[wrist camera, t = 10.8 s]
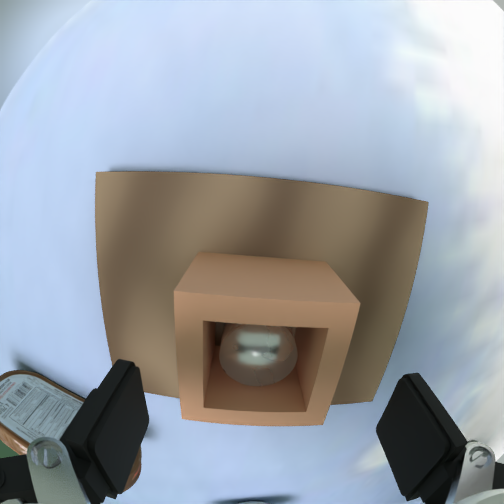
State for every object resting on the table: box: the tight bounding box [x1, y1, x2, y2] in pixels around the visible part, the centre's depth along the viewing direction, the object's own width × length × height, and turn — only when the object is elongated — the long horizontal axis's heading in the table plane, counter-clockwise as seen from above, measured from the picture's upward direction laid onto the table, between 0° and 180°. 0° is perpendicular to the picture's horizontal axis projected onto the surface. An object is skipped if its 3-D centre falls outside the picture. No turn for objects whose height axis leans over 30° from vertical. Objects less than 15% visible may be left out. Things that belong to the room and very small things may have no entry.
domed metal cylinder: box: [219, 322, 298, 386], centre depth 13 cm, size 3×3×4 cm
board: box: [95, 171, 428, 405], centre depth 16 cm, size 18×14×2 cm
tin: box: [0, 370, 141, 492], centre depth 15 cm, size 15×3×8 cm, turn 71°
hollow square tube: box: [174, 252, 361, 426], centre depth 12 cm, size 6×6×5 cm
